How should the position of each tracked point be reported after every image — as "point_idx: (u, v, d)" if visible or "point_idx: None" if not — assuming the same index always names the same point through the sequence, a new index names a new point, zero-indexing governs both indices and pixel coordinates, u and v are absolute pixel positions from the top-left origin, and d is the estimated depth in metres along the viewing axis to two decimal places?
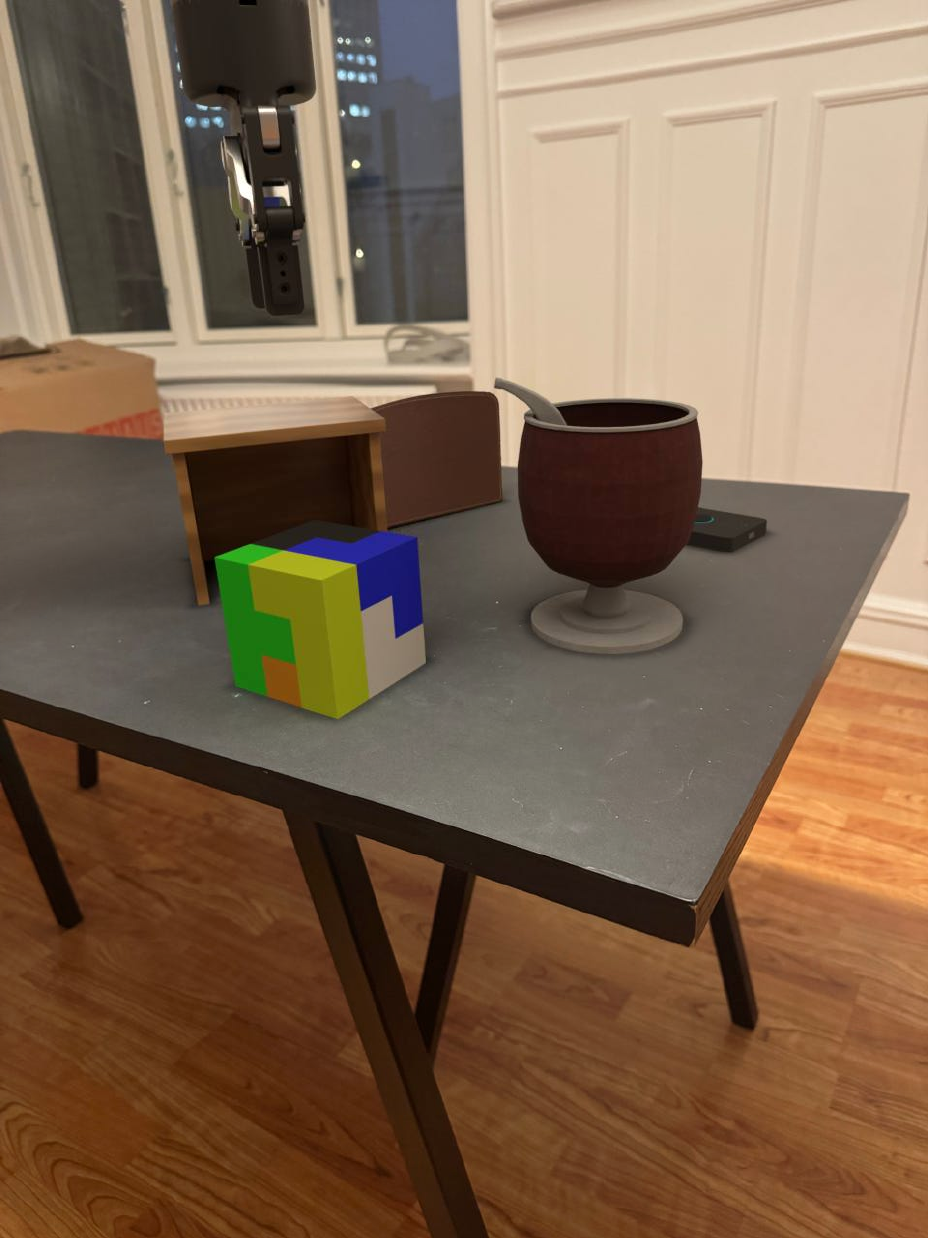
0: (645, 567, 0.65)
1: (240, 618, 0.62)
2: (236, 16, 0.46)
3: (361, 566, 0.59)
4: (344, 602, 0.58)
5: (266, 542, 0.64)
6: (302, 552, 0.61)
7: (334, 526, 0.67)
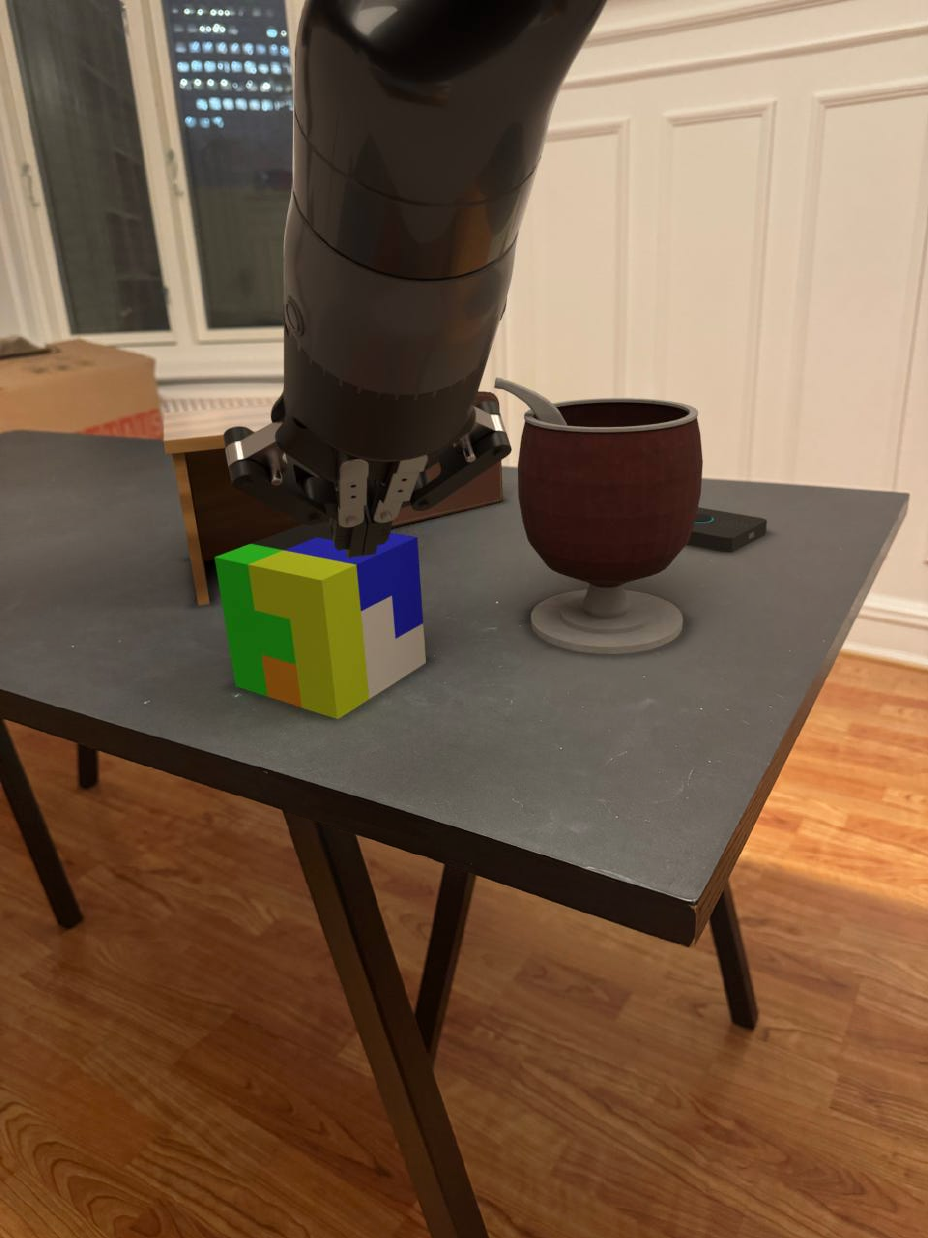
0: (645, 567, 0.65)
1: (240, 618, 0.62)
2: None
3: (361, 566, 0.59)
4: (344, 602, 0.58)
5: (267, 542, 0.64)
6: (302, 551, 0.61)
7: None
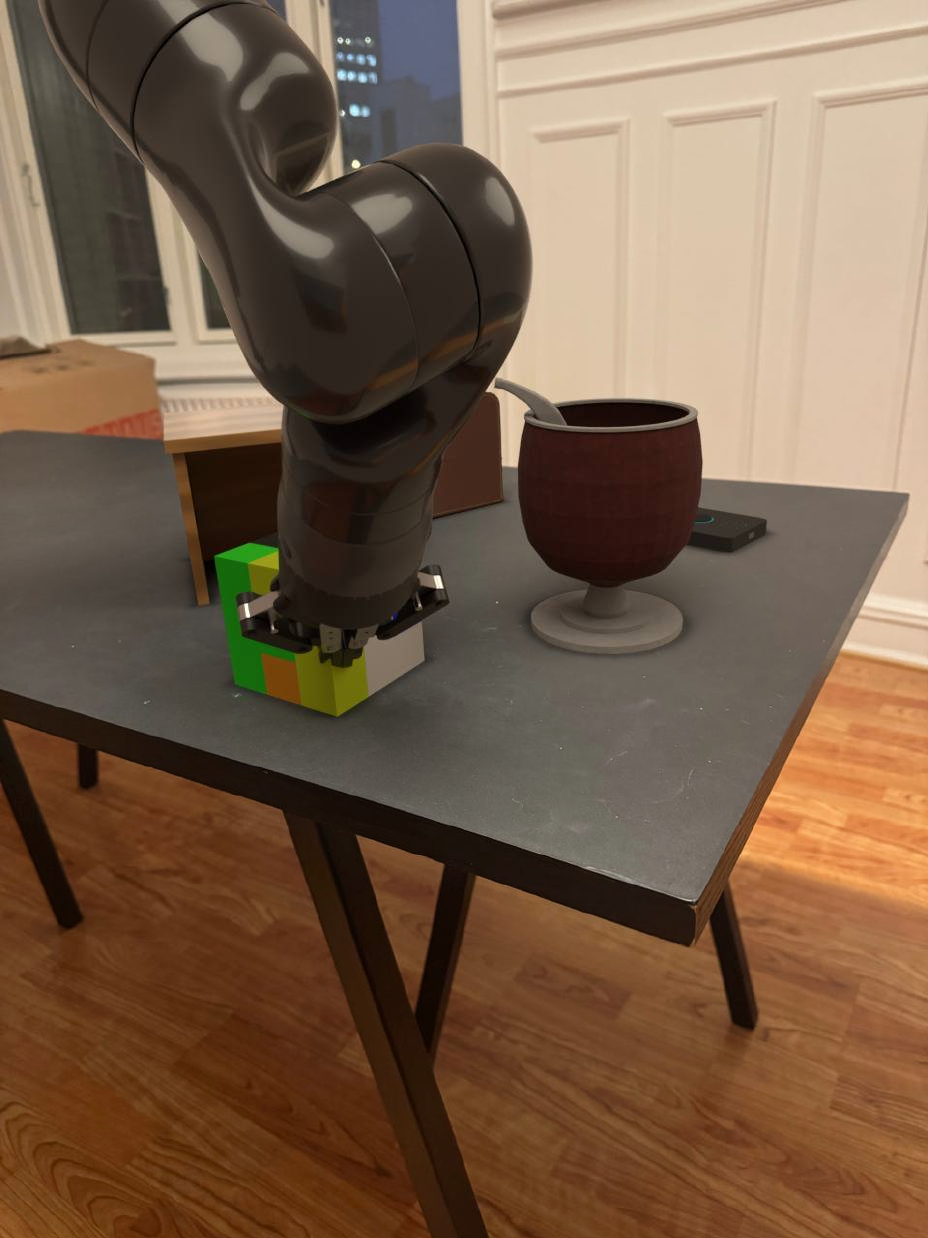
0: (645, 567, 0.65)
1: None
2: None
3: None
4: None
5: (266, 541, 0.64)
6: None
7: None
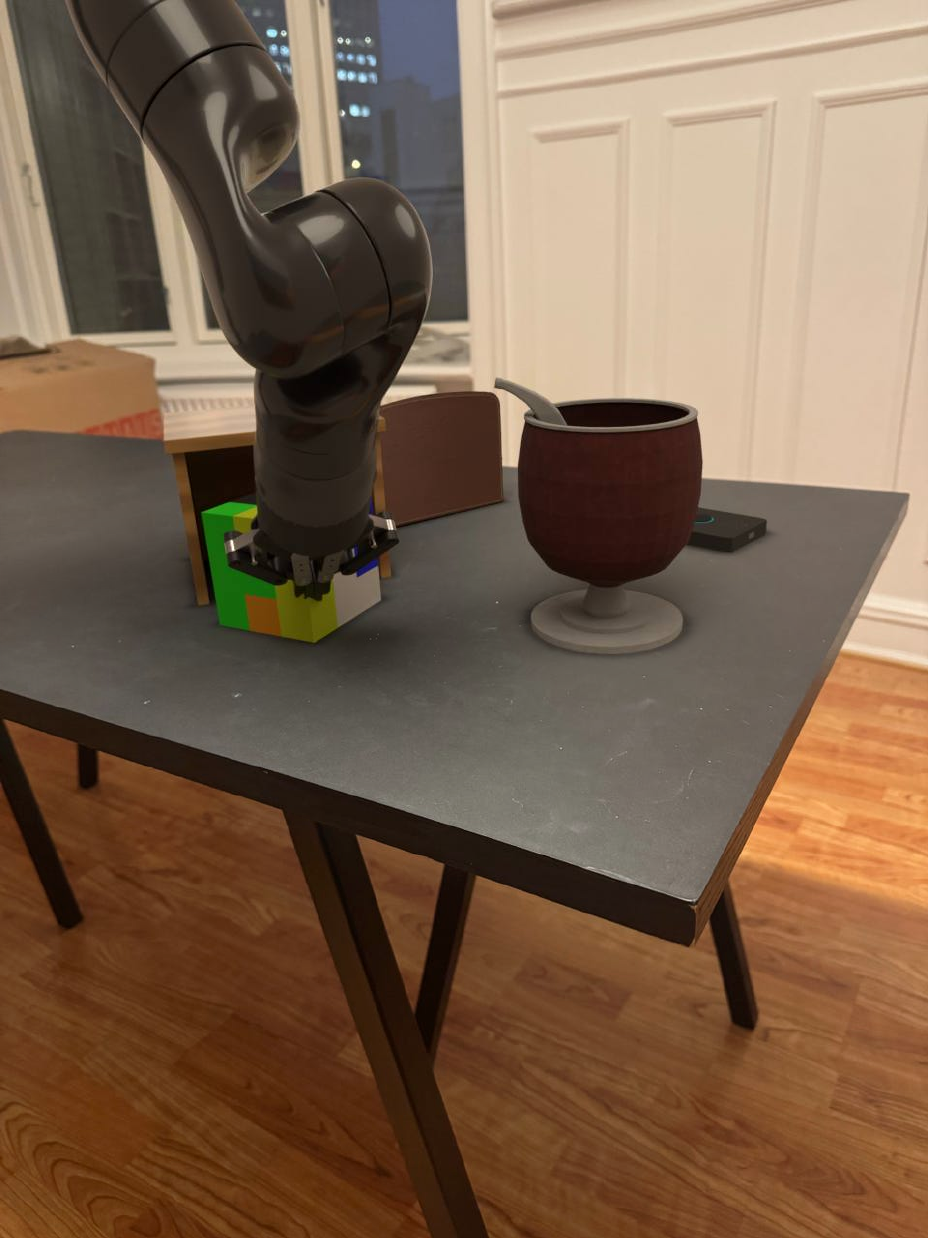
0: (645, 567, 0.65)
1: (225, 563, 0.73)
2: None
3: None
4: None
5: (243, 500, 0.75)
6: None
7: None
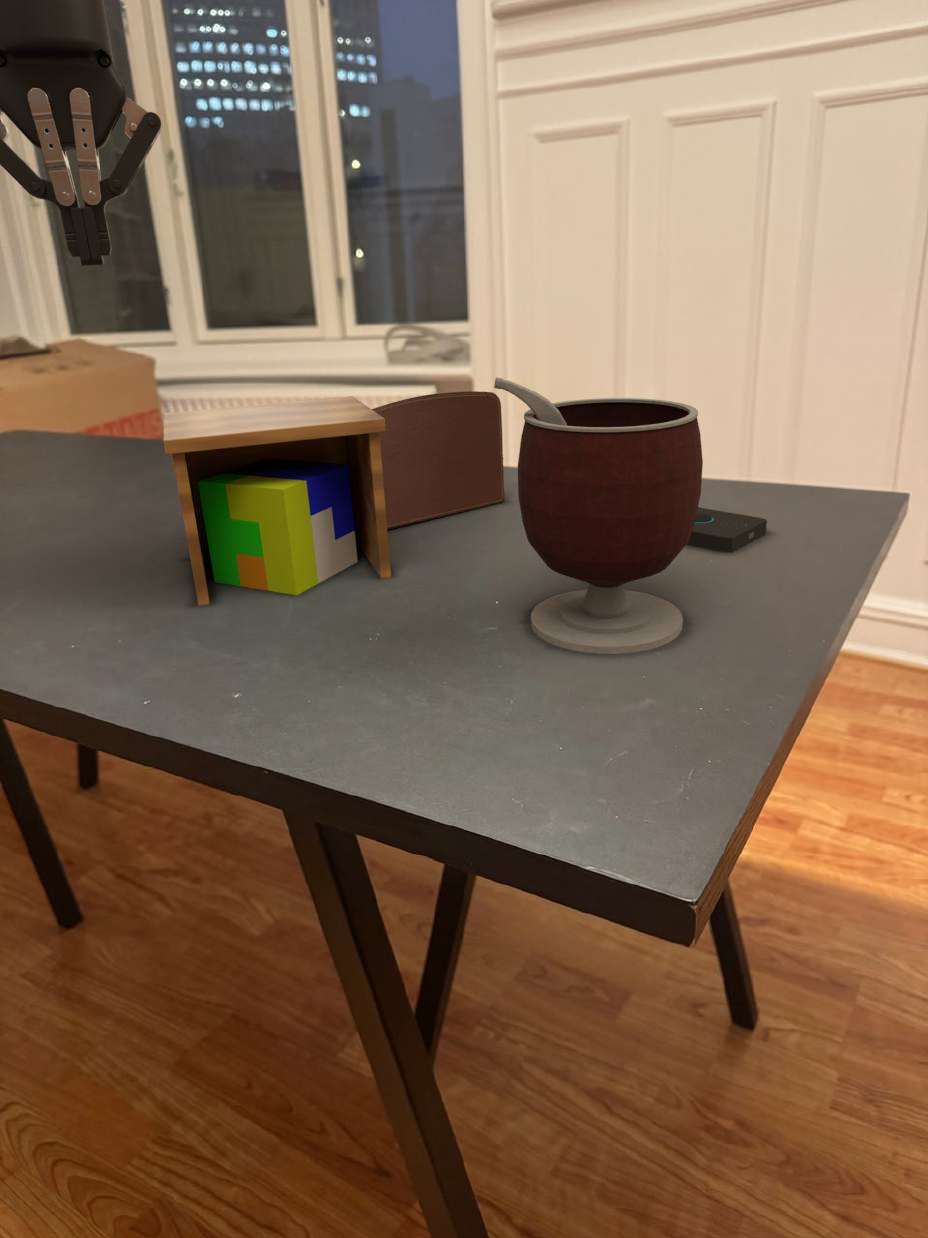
0: (645, 567, 0.65)
1: (219, 526, 0.83)
2: None
3: (310, 482, 0.81)
4: (298, 507, 0.80)
5: (235, 472, 0.85)
6: (264, 475, 0.83)
7: (283, 461, 0.89)
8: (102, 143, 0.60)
